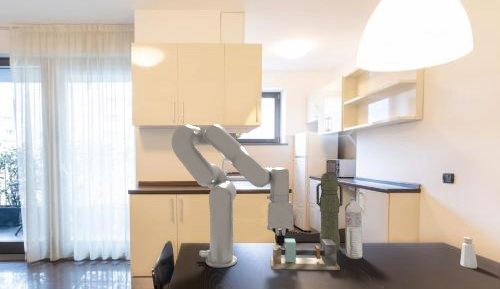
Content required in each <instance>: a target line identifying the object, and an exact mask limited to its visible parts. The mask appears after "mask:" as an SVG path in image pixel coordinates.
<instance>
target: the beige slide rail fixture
mask: <svg viewBox="0 0 500 289" xmlns="http://www.w3.org/2000/svg"><path fill="white" fill-rule="evenodd" d="M281 246H282V245H280V246H279V245H272V256H271V257H270V258H269V259H270V260H269V261H270V269H272V270H313V271H314V270H315V271H316V270H318V271H319V270H323V271H324V270H325V271H328V270H329V271H331V270H332V271H340V270H341V268H340V265H339V264H338V263H337V252H336V244H335V243H334V242H333V241H332V239H322V249H320V246H319V245H318V244H317V245H314V248H300V247H299V248H298V247H296V256H314V257H296V262H286V261H285V247H281ZM282 256H284V257H282Z"/></svg>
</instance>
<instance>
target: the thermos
mask: <svg viewBox="0 0 500 289" xmlns="http://www.w3.org/2000/svg"><path fill="white" fill-rule="evenodd" d="M315 186H316V187H315V189H316V190H315V192H316V193H315V194H316V195H315V196H316V205H317V206H318V207H319V212H320V232H319V244H320V246H319V248H320V249H322V239H332V241H333V242H334V243H335V244H336V253H338V252H340V245H341V237H340V236H341V235H340V233H339V232H340V231H339V212H340V207H343V205H344V203H343V202H344V200H343V199H344V198H343V185H342V184H341V183H339V182H338V177H337V174H336V173H334V172H325V173H322V174H321V178H320V183H318V184H317V185H315ZM320 190H321V191H320ZM338 190H339V194H338Z"/></svg>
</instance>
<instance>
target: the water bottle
mask: <svg viewBox="0 0 500 289" xmlns="http://www.w3.org/2000/svg"><path fill="white" fill-rule="evenodd" d="M362 208H363V207H362V206H361V205H360V204H359V203H358V202H357V201H356V198H355V197H350V201H349V202H348V203H346V205H345V207H344V211H345V212H344V213H345V214H344V215H345V216H344V217H345V218H344V219H345V221H344V222H345V223H344V224H345V225H344V226H345V227H344V231H345V232H344V233H345V234H344V241H345V242H344V244H345V245H344V246H345V248H344V249H345V252H344V253H345V256H346V258H348V259H352V260H359V259H362V257H363V224H362V217H363V216H362V211H363V209H362Z"/></svg>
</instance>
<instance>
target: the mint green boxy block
mask: <svg viewBox="0 0 500 289" xmlns="http://www.w3.org/2000/svg"><path fill="white" fill-rule="evenodd" d="M284 248H285V255H284V257H285V261H286V262H296V258H297V255H296V248H297V242H296V239H295V238H284Z"/></svg>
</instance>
